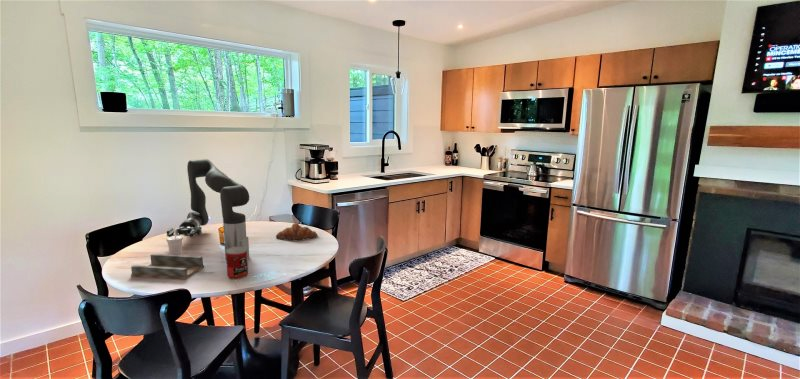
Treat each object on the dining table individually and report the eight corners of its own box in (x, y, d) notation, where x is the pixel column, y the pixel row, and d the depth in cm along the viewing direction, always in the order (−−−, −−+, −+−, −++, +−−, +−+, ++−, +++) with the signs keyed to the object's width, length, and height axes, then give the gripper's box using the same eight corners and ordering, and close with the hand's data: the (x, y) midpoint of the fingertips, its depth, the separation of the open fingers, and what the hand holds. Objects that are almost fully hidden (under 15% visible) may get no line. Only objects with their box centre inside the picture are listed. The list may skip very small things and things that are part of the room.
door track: (204, 267, 159) (203, 256, 158) (184, 279, 146) (183, 267, 145) (154, 264, 160) (153, 253, 159) (131, 276, 147) (129, 264, 147)
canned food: (235, 280, 146) (233, 254, 144) (223, 276, 150) (221, 250, 148) (252, 274, 153) (251, 248, 151) (240, 270, 157) (238, 245, 155)
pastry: (300, 231, 214) (300, 218, 212) (318, 237, 205) (318, 223, 204) (275, 238, 200) (274, 224, 199) (293, 244, 192) (293, 229, 190)
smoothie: (176, 261, 164) (174, 230, 162) (164, 260, 165) (161, 229, 163) (187, 256, 170) (185, 227, 168) (175, 255, 171) (173, 225, 169)
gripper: (173, 220, 187) (162, 228, 172) (204, 218, 191) (196, 227, 176) (174, 234, 189) (163, 244, 173) (205, 232, 192) (197, 242, 177)
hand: (180, 235), depth 174 cm, fingers open, 8 cm apart
